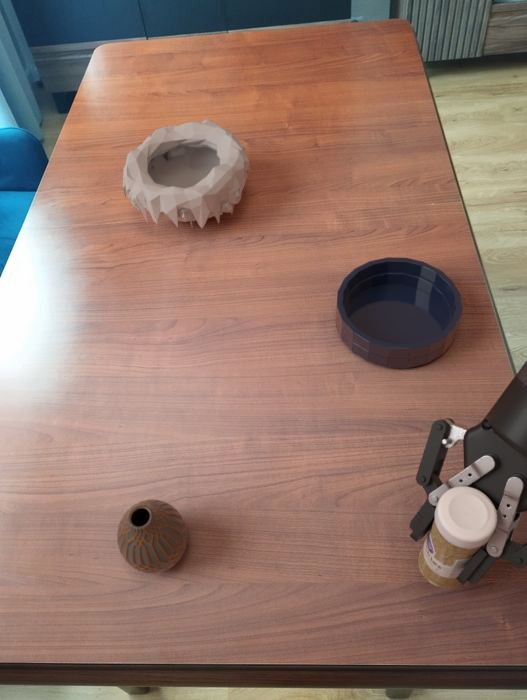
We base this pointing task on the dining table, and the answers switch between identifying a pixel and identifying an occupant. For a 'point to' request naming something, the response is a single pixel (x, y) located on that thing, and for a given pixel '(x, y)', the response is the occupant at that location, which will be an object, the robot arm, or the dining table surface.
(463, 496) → the sprinkles bottle
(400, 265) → the pan
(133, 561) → the vase
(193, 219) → the bowl
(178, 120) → the dining table surface
